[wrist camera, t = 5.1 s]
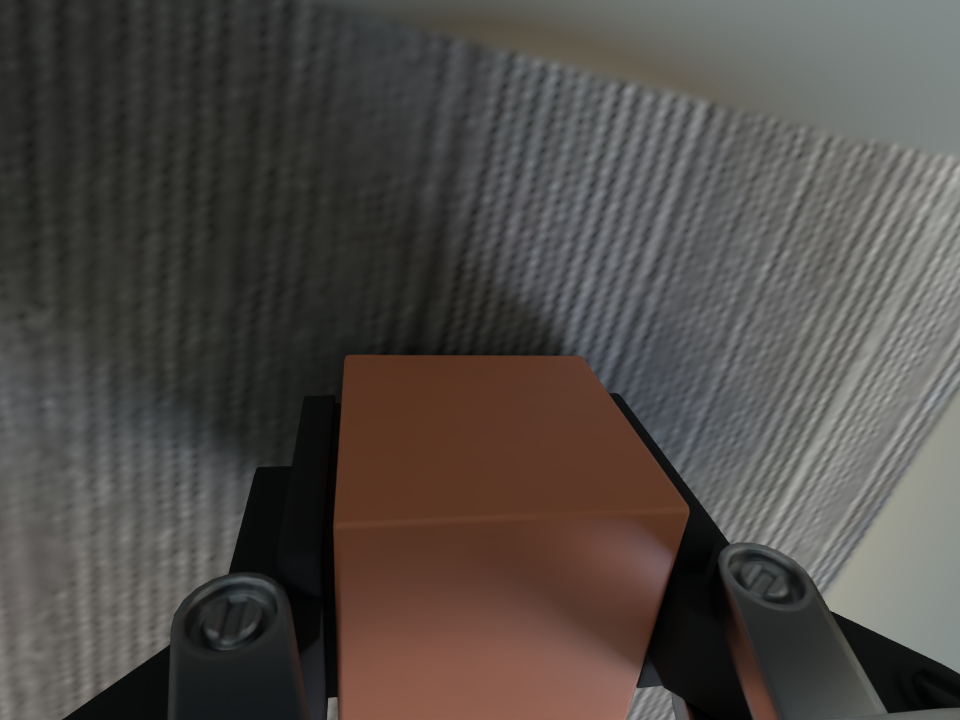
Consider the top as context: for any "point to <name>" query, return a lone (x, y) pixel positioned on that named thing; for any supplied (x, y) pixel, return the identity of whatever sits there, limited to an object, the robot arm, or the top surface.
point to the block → (494, 541)
